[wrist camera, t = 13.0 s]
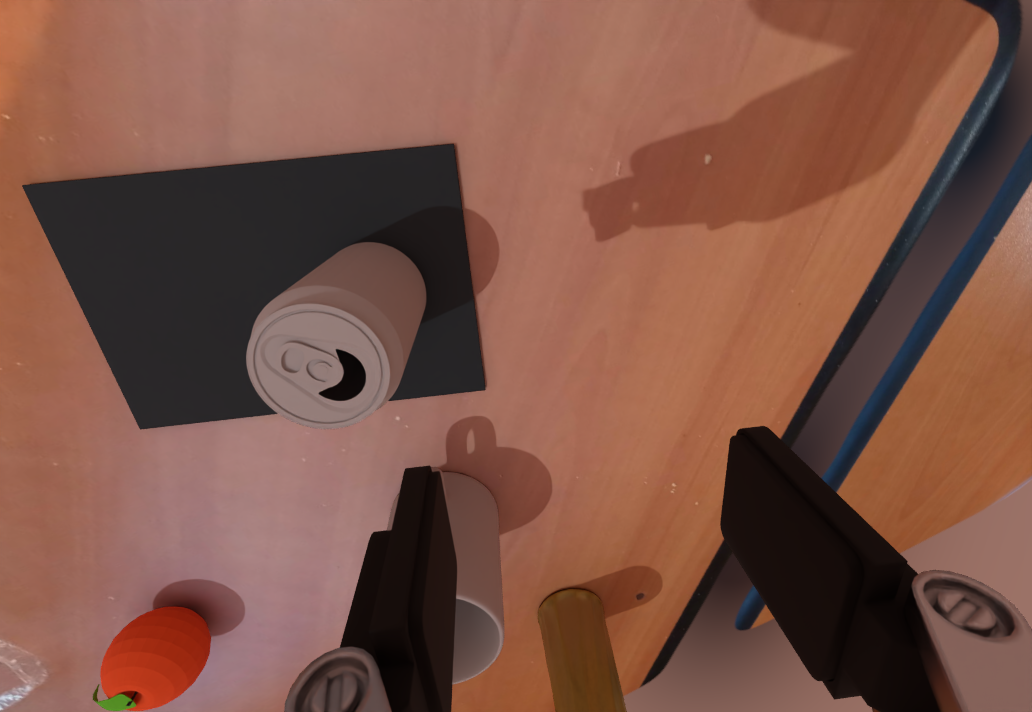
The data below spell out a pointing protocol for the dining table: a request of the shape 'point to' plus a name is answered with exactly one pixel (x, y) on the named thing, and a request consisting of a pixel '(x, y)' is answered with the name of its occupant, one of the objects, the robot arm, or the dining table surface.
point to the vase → (579, 653)
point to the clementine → (154, 659)
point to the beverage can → (338, 337)
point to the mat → (253, 268)
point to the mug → (473, 574)
